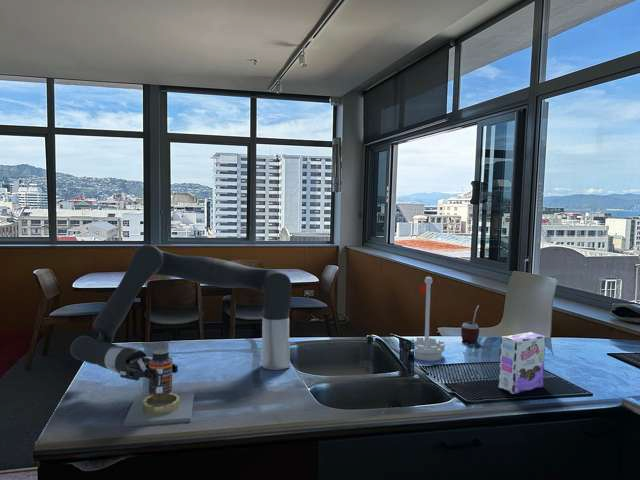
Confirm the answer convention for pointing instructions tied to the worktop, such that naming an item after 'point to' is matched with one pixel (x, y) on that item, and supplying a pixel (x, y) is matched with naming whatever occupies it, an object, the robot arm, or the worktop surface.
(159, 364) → the supplement bottle
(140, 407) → the grey square plate
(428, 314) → the flag stand
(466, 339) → the mate gourd
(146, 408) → the brass collar
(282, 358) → the robot arm
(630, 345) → the worktop surface
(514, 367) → the candy box
